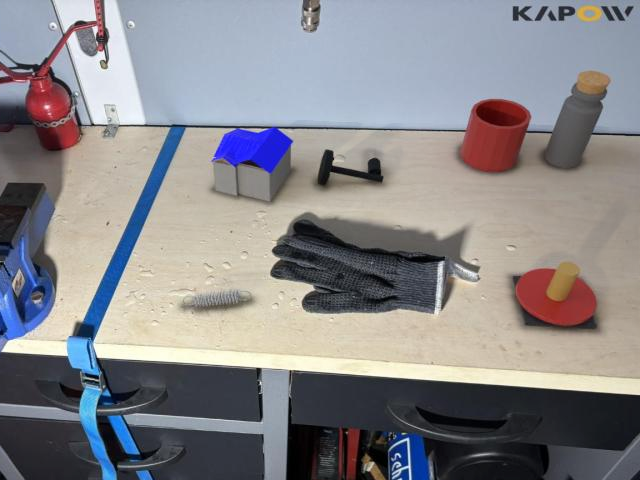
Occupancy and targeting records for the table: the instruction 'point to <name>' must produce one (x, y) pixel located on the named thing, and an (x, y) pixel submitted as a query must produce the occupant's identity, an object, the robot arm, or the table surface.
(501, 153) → the tin
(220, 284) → the table surface
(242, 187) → the house
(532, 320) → the mat
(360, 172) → the light fixture
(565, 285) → the tin lid
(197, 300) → the spring
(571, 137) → the bottle
